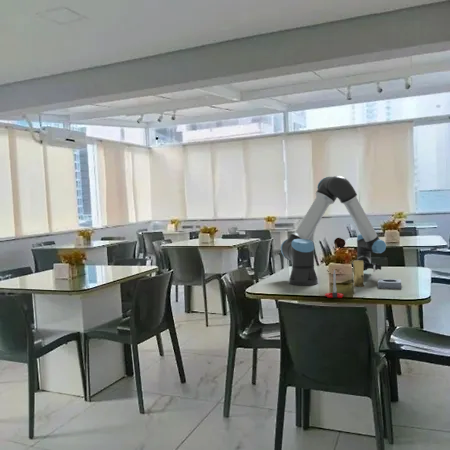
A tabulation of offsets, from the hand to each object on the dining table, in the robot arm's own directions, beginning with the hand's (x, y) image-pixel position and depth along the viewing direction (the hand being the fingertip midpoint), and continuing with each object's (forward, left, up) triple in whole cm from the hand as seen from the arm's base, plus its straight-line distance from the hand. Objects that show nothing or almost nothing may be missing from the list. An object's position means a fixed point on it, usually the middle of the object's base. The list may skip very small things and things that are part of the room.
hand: (360, 268), depth 252 cm
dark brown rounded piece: (-16, +44, -8) cm, 47 cm away
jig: (+14, -6, -8) cm, 18 cm away
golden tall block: (-1, -7, -8) cm, 11 cm away
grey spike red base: (-10, -34, -8) cm, 36 cm away
